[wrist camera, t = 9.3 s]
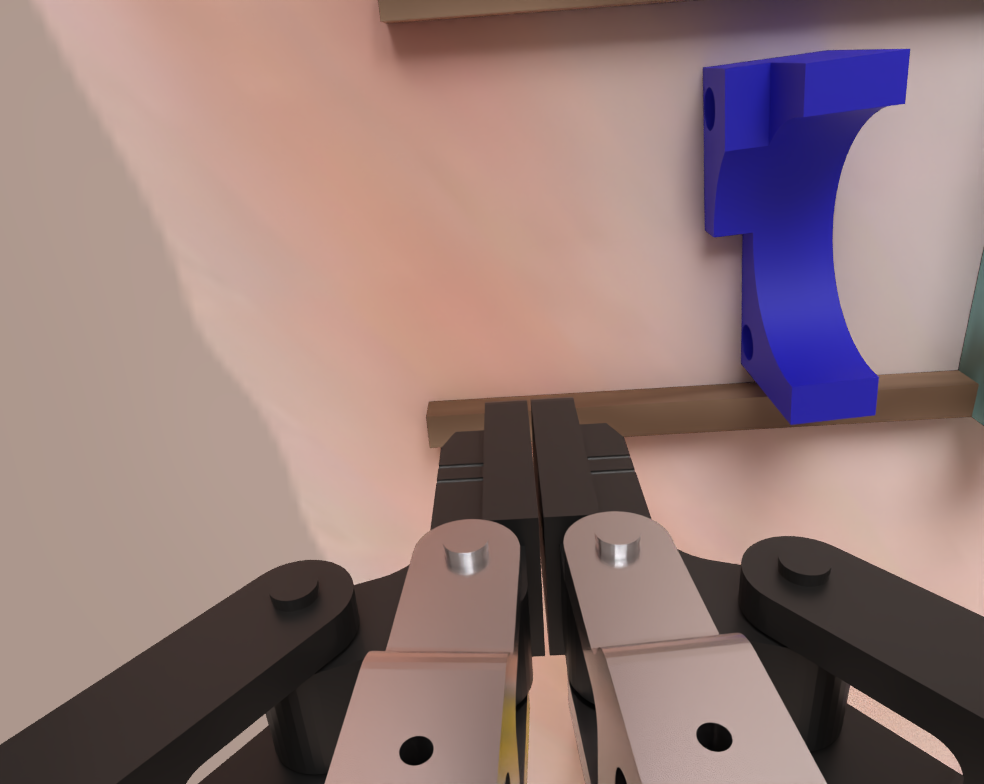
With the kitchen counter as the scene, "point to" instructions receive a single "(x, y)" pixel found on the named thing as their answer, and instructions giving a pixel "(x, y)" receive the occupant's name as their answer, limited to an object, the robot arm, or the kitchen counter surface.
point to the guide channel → (707, 408)
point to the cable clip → (793, 214)
